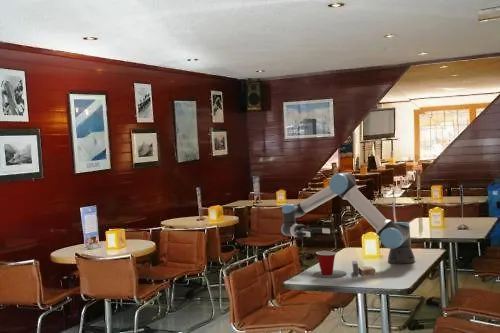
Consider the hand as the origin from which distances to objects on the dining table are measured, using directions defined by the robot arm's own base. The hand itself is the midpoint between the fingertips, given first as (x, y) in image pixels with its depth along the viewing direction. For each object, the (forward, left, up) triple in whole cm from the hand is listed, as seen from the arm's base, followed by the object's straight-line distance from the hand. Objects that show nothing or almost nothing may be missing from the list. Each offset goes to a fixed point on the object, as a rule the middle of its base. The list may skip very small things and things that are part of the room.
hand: (319, 232), depth 317 cm
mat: (-4, +13, -21) cm, 25 cm away
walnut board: (-24, +13, -22) cm, 35 cm away
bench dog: (-18, +13, -21) cm, 31 cm away
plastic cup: (-3, +14, -21) cm, 25 cm away
